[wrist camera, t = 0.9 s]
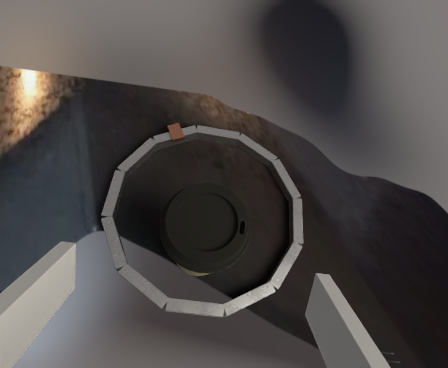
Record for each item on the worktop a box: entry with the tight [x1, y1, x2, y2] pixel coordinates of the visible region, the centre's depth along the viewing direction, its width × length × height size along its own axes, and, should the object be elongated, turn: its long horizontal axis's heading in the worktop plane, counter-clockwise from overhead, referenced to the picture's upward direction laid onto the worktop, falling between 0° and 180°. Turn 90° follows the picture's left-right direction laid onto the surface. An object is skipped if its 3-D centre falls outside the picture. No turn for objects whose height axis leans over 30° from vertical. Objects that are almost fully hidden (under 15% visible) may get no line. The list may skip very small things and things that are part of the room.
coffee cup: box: [159, 183, 251, 276], centre depth 36 cm, size 10×10×15 cm
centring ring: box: [101, 123, 303, 317], centre depth 45 cm, size 31×30×3 cm
